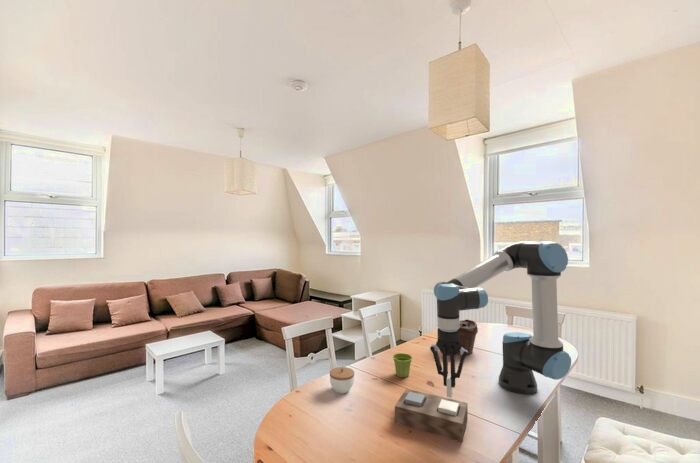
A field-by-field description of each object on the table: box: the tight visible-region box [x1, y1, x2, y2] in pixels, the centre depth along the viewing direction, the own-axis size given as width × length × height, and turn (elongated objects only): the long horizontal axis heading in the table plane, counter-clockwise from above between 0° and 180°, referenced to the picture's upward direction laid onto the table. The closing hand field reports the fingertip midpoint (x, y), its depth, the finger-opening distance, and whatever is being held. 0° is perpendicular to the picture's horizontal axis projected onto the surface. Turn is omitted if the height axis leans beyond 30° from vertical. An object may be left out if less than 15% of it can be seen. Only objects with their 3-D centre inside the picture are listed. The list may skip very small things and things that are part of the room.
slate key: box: [405, 392, 425, 407], centre depth 114 cm, size 6×6×4 cm
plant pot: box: [392, 352, 413, 379], centre depth 149 cm, size 9×9×9 cm
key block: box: [394, 388, 469, 443], centre depth 112 cm, size 23×14×6 cm, turn 63°
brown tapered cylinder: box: [456, 319, 479, 355], centre depth 180 cm, size 18×20×18 cm
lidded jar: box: [329, 366, 355, 395], centre depth 134 cm, size 11×11×9 cm
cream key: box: [438, 399, 459, 416], centre depth 109 cm, size 6×6×4 cm
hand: (449, 395), depth 109 cm, fingers closed
